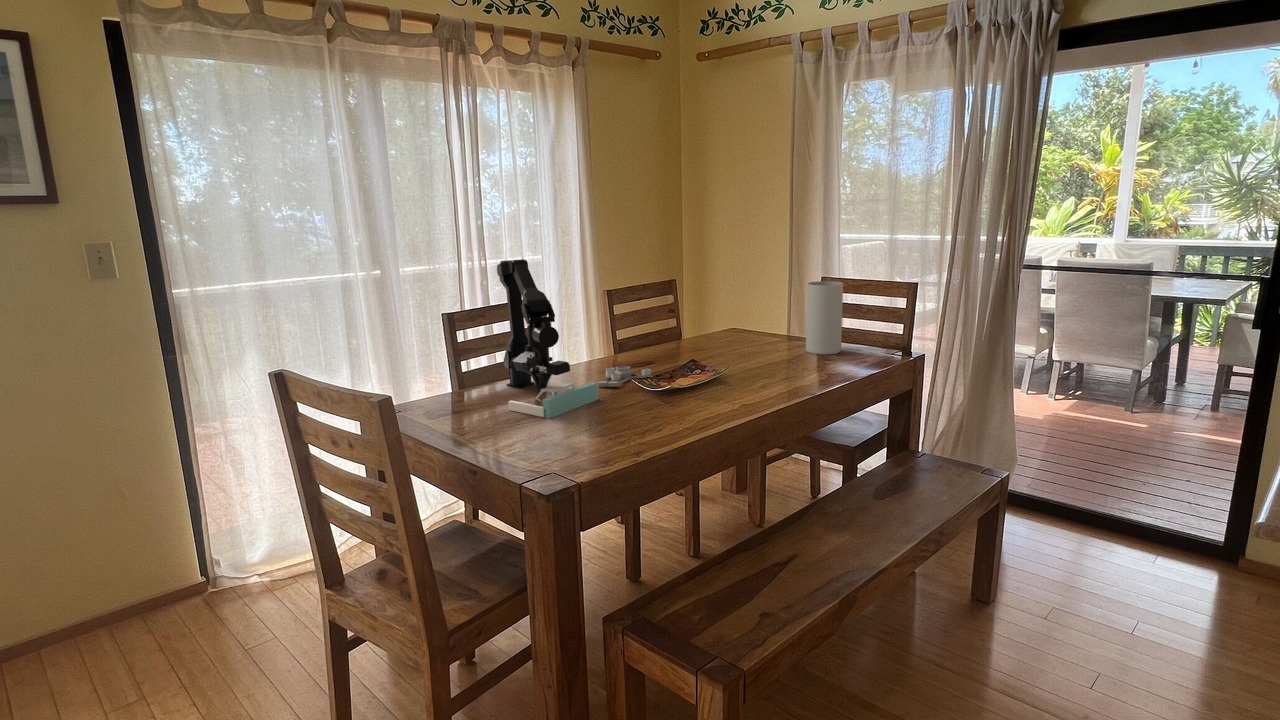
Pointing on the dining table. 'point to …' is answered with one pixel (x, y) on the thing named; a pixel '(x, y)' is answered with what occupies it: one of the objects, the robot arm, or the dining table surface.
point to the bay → (559, 401)
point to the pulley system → (622, 375)
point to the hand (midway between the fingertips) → (541, 393)
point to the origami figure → (554, 388)
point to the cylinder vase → (824, 317)
